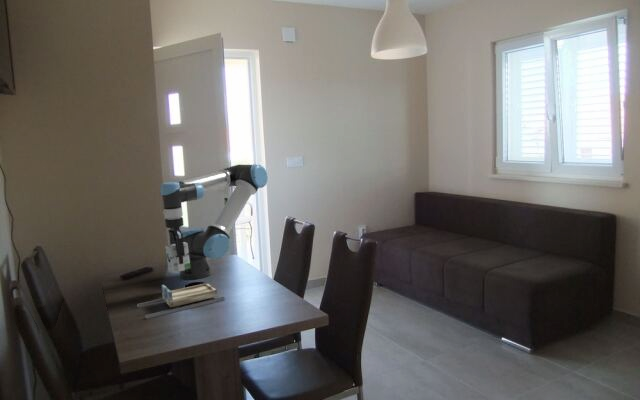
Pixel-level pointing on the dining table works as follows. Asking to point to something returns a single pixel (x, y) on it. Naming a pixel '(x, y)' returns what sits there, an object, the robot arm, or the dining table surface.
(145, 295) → the dining table surface
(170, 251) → the ink box
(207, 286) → the wooden tray
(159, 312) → the track
